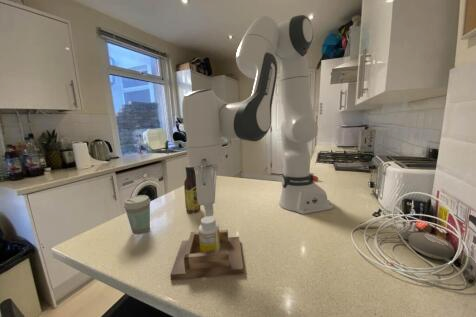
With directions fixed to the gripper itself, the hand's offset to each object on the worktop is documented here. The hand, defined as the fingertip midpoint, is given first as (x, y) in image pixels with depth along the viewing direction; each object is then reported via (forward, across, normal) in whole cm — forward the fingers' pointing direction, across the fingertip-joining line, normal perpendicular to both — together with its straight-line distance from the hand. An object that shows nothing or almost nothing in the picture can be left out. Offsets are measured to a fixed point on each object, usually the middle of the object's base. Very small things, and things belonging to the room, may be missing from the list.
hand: (210, 206), depth 54 cm
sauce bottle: (+15, +32, +10) cm, 37 cm away
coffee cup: (+15, +19, +28) cm, 36 cm away
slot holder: (+15, 0, +2) cm, 16 cm away
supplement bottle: (+14, 0, +2) cm, 14 cm away
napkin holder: (+18, +64, -52) cm, 85 cm away
